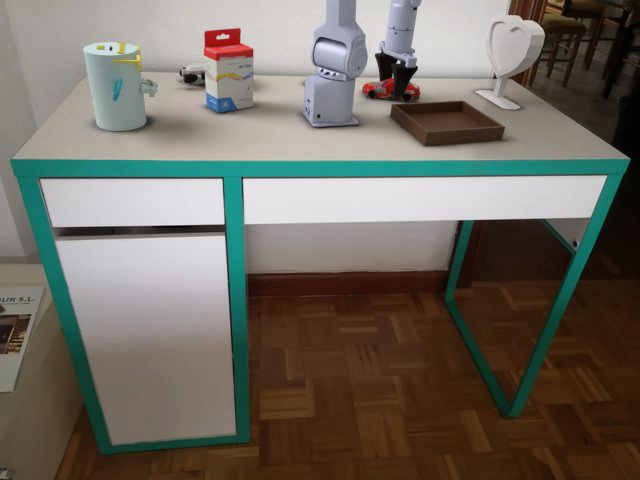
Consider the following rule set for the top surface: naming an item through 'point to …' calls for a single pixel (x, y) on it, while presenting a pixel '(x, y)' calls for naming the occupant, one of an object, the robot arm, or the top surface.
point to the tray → (446, 122)
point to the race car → (390, 90)
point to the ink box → (228, 71)
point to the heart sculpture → (510, 52)
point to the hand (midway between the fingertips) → (391, 91)
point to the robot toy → (192, 74)
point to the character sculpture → (117, 85)
